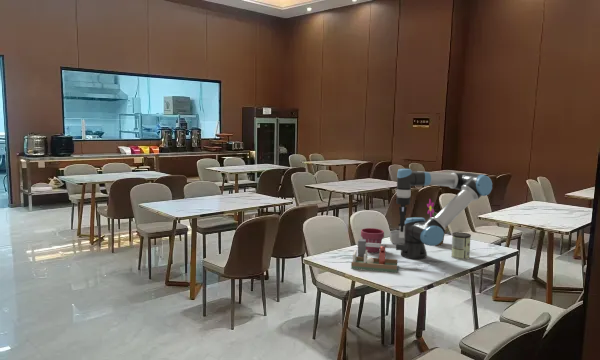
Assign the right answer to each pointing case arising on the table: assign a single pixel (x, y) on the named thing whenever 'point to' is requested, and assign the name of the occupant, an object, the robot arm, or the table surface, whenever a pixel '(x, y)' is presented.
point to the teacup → (396, 237)
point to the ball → (370, 260)
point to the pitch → (362, 263)
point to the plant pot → (372, 238)
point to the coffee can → (460, 245)
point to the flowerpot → (434, 215)
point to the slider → (382, 249)
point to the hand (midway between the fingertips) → (401, 234)
